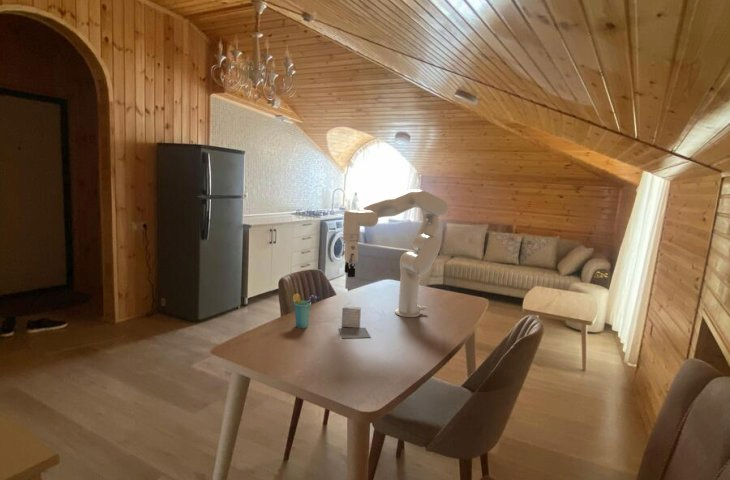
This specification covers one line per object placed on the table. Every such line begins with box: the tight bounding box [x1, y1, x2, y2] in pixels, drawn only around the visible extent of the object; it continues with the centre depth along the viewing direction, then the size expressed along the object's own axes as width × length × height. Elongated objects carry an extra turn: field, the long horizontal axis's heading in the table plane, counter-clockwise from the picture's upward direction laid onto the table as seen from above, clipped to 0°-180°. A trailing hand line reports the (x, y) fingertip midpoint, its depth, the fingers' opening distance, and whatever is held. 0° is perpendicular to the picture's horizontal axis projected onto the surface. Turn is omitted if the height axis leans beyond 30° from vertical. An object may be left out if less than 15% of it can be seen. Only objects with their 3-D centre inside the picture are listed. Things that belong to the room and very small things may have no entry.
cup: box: [292, 293, 319, 329], centre depth 173 cm, size 14×8×15 cm, turn 66°
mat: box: [338, 327, 372, 340], centre depth 169 cm, size 12×11×1 cm
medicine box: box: [341, 305, 362, 328], centre depth 176 cm, size 8×4×9 cm, turn 84°
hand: (349, 274), depth 183 cm, fingers open, 8 cm apart
